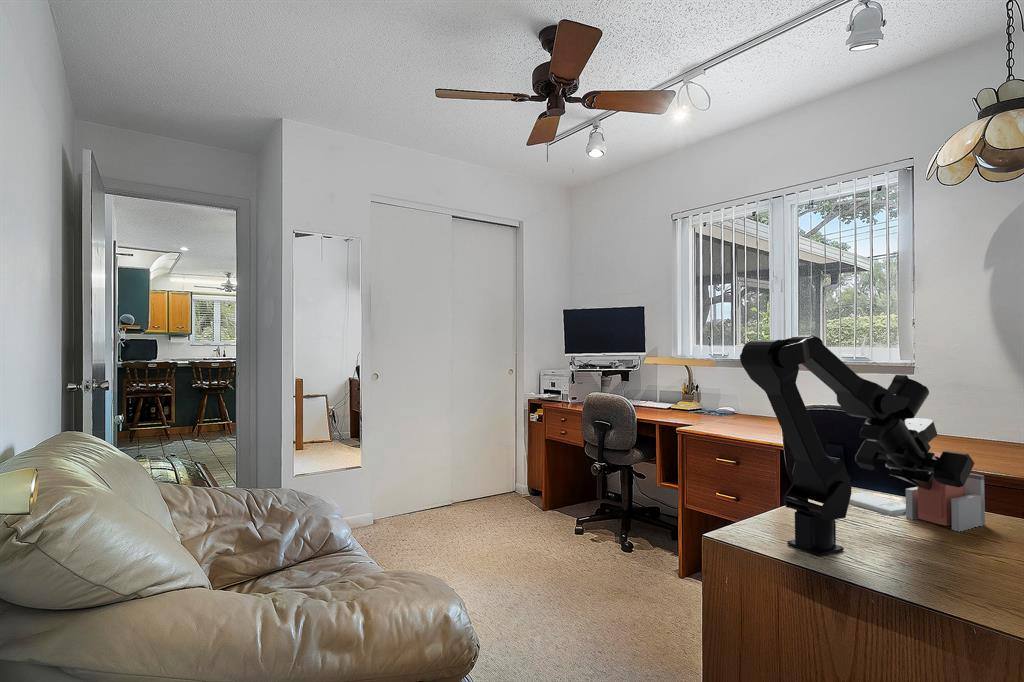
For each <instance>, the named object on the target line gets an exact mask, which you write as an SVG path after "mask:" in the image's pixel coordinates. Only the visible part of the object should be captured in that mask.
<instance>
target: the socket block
mask: <svg viewBox="0 0 1024 682" xmlns="http://www.w3.org/2000/svg"><path fill="white" fill-rule="evenodd" d="M985 497H986V496H985V475H983V474H977V473H971V472H970V474H969V476H968V478H967V480H966V482H965V484H964V486H963V497H958V498H953V499H951V510H952V525H951V530H952V531H953V530H954V532H957V531H958V533H961V532H965V531H969V530H972V529H971V528H973V529H975V528H974V527H977V528H979V527H978V526H981V525H984V526H985V525H986V515H985V514H986V507H985V505H986V504H985V503H986V501H985ZM905 504H906V514H905V518H906V519H908V520H917V519H918V486H914V487H909V488H908V487H907V488H905ZM981 527H982V526H981ZM968 529H969V530H968ZM964 530H965V531H964ZM960 531H961V532H960Z"/></svg>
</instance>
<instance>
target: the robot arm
mask: <svg viewBox="0 0 1024 682" xmlns="http://www.w3.org/2000/svg"><path fill="white" fill-rule="evenodd" d="M739 361H740V364H741V366H742V367H743V369H744V370H745V372H746V373H747V375H748V377H749V378H750V380H751V381H752V382H753V383H755V384H756V385H757V386H759V388H761V389H762V390H763V391H764V392H765V394H766V396H767V399H768V400H769V403H770V406H771V408H772V410H773V412H774V414H775V416H776V419H777V422H778V424H779V426H780V429H781V431H782V433H783V436H784V438H785V440H786V442H787V445H788V447H789V450H790V452H791V454H792V456H793V458H794V461H795V462H794V465H793V469H792V473H791V475H792V478H793V482H792V483H791V484H790V486H789V487H788V489H787V490H786V491H785V493H784V494H783V497H782V500H783V502H784V506H785V508H788V509H792V510H794V511H795V512H794V539H790V540H787V542H786V543H787V545H789V546H791V547H795V548H797V549H800V550H803V551H806V552H808V553H811V554H813V555H816V556H819V557H820V556H821V557H822V556H826V555H830V554H834V553H838V552H842V551H844V550H845V549H844V546H842V545H838V544H836V543H837V537H836V536H837V533H836V532H837V530H836V529H837V527H836V525H837V523H836V522H837V521H836V520H838V519H839V520H841V519H845V518H846V516H847V513H848V510H849V505H850V504H849V501H850V497H851V494H852V485H851V482H850V481H851V480H852V477H851V476H850V475H849V473H848V472H847V469H846V465H845V463H844V461H843V460H842V458H837V457H832V456H828V455H827V454H826V452H825V450H824V447H823V446H822V445H823V444H822V442H821V440H820V438H819V436H818V434H817V431H816V428H815V427H814V424H813V421H812V419H811V416H810V414H809V412H808V410H807V407H806V405H805V403H804V401H803V398H802V395H801V393H800V390H799V389H798V385H797V378H798V376H799V375H798V374H799V370H800V366H799V365H802V366H804V367H805V369H807V370H808V371H810V373H811V374H813V375H814V376H815V377H816V378H818V379H819V380H820V381H821V382H822V383H823V384H824V385H826V386H827V387H828V388H829V389H830V390H832V391H833V392H834V394H835V395H836V402H837V404H838V405H839V406H840V407H841V408H842V410H843V411H844V412H845V413H846V415H847V416H850V417H856V418H865V421H864V423H863V424H862V428H861V429H860V431H859V437H860V438H864V439H865V440H864V441H863V442H862V443H861V445H860V447H859V449H858V450H857V452H856V454H855V455H854V460H855V463H856V464H857V466H859V468H860V469H864V470H870V471H874V470H875V469H876V468H877V466H876V464H875V463H876V461H877V460H881V461H882V460H883V461H886V463H885V468H887V469H889V470H888V474H889V475H890V476H892V477H895V478H898V479H901V480H903V481H906V482H907V483H910V484H912V485H915V486H916V487H918V486H919V487H921V488H923V489H926V490H930V489H931V487H932V477H933V475H934V478H935V480H936V481H938V482H940V483H941V484H944V485H949V486H954V487H962V486H964V484H965V482H966V480H967V478H968V476H969V474H970V473H971V471H972V469H973V468H974V465H975V463H976V462H974V460H973V458H972V457H971V456H970V455H969V453H963V452H958V451H957V452H956V451H949V450H945V451H942V452H941V453H942V454H941V456H940V458H939V457H936V456H935V454H934V453H931V452H932V451H931V452H930V450H931V447H932V446H931V445H930V444H929V443H930V442H931V441H932V440H933V439H934V438H937V437H938V432H937V428H936V425H935V423H934V420H933V419H931V418H922V417H920V418H919V417H916V416H917V414H918V412H919V410H920V409H921V407H922V406H923V404H924V403H925V401H926V399H927V398H928V396H929V395H930V391H929V388H928V387H927V386H926V385H923V384H922V383H920V382H919V381H917V380H914V379H911V378H910V377H908V375H907V374H895V375H894V377H893V378H892V380H891V383H890V384H889V386H888V388H885V387H884V386H882V385H880V384H879V383H877V382H874V381H871V380H868V379H865V378H864V377H861V376H859V375H858V374H857V373H856V372H855V371H854V370H852V368H850V367H849V366H848V365H847V364H846V363H845V362H844V361H843V360H841V359H840V358H839V357H838V356H837V355H836V354H835V353H833V352H832V351H831V350H830V349H829V348H828V347H827V346H826V345H825V344H824V343H823V341H822V339H821V338H820V337H818V336H815V335H812V334H811V335H794V336H791V337H788V338H784V339H758V340H757V339H755V340H752V339H751V340H749V341H748V342H746V343H745V344H744V346H743V348H742V350H741V354H739ZM809 500H810V501H809ZM811 501H813V502H811ZM814 502H815V503H814ZM816 502H817V503H820V504H822V505H820V504H817V503H816Z"/></svg>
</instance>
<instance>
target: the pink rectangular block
mask: <svg viewBox="0 0 1024 682" xmlns="http://www.w3.org/2000/svg"><path fill="white" fill-rule="evenodd" d="M931 453H934V454H935V456H936V457H939V458H940V456H941V454H942V452H938V451H931ZM917 487H918V519H919V520H923V521H927V522H931V523H934V524H938V525H942V526H946V527H947V526H952V510H951V499H953V498H958V497H963V486H962V487H954V486H949V485H944V484H941V483H940V482H938V481H936V480H935V478H934V475H933V477H932V487H931V489H930V490H926V489H923V488H921V487H919V486H917Z"/></svg>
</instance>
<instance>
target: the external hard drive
mask: <svg viewBox="0 0 1024 682" xmlns="http://www.w3.org/2000/svg"><path fill="white" fill-rule="evenodd" d="M849 505H854V506H856V507H859V508H864V509H867V510H870V511H874V512H878V513H881V514H884V515H888V516H891V517H895V516H899V515H906V503H904V502H900V501H896V500H893V499H889V498H885V497H882V496H878V495H874V494H870V493H868V492H867V493H866V492H863V491H862V492H854V493H851V497H850V501H849Z"/></svg>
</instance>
